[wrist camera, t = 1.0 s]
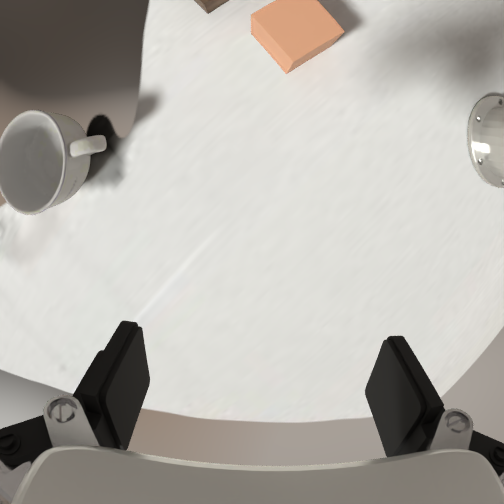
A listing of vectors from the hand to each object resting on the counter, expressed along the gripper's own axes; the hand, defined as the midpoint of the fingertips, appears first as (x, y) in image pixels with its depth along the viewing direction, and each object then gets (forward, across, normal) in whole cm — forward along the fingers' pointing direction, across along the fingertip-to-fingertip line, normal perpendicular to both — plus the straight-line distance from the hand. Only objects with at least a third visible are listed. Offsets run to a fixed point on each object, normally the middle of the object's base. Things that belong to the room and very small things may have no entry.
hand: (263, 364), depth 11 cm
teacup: (+25, +22, -6) cm, 34 cm away
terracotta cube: (+25, -2, -19) cm, 31 cm away
